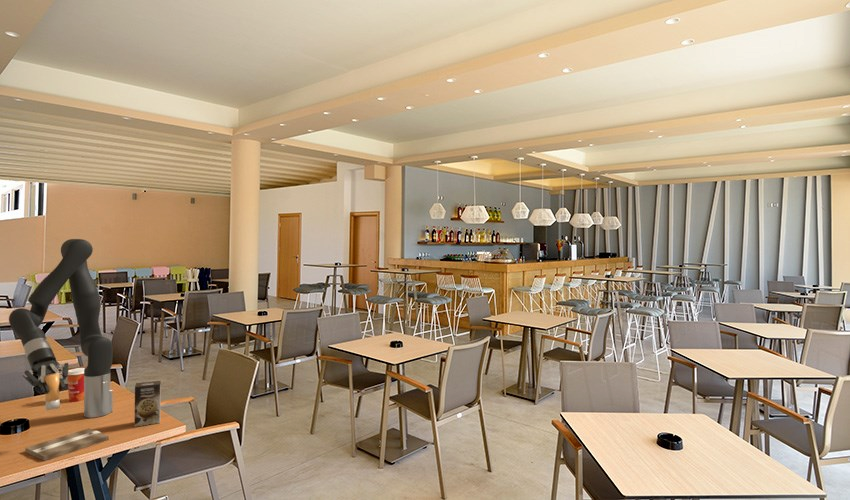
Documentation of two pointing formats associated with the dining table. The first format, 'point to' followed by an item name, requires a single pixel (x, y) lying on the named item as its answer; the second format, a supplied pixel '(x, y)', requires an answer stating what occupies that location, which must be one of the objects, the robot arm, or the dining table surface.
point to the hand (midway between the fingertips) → (55, 390)
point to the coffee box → (147, 403)
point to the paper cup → (76, 384)
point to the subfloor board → (66, 444)
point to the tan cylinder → (52, 391)
